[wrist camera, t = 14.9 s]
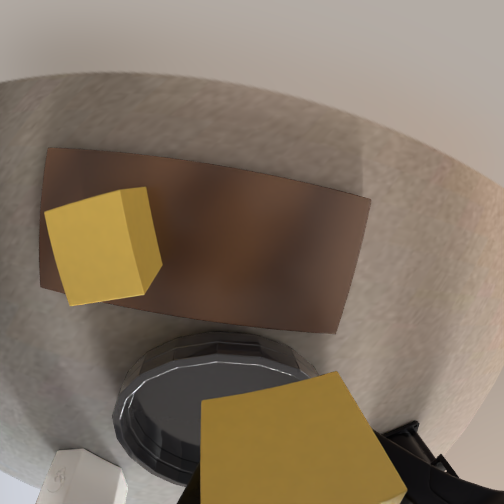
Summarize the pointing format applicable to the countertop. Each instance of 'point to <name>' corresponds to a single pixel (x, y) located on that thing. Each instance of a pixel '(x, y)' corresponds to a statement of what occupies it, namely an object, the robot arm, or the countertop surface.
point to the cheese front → (293, 448)
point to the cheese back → (105, 246)
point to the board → (223, 238)
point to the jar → (82, 480)
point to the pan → (193, 394)
